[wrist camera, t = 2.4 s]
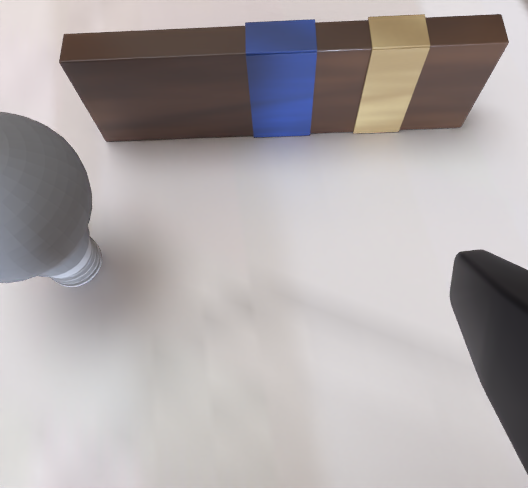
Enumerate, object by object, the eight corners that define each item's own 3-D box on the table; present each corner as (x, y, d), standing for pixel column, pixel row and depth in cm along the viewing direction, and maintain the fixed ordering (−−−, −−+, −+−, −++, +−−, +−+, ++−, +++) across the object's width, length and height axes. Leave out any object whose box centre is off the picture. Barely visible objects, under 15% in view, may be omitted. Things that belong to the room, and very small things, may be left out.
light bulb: (-3, 253, 24) (-181, 137, 15) (101, 187, 25) (-3, 41, 16) (52, 351, 22) (-112, 288, 13) (163, 275, 23) (85, 166, 14)
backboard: (461, 129, 26) (511, 42, 20) (105, 143, 26) (57, 62, 21) (446, 59, 28) (488, -39, 22) (113, 74, 28) (70, -19, 22)
